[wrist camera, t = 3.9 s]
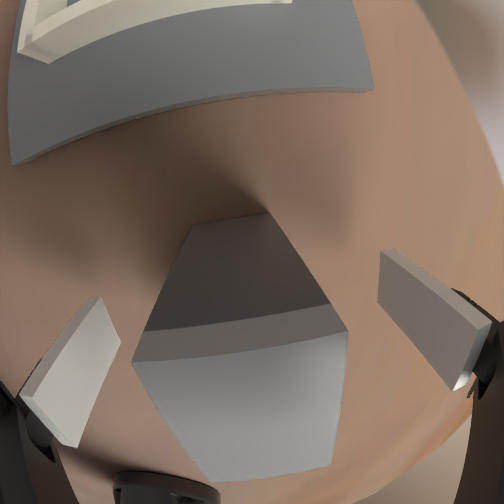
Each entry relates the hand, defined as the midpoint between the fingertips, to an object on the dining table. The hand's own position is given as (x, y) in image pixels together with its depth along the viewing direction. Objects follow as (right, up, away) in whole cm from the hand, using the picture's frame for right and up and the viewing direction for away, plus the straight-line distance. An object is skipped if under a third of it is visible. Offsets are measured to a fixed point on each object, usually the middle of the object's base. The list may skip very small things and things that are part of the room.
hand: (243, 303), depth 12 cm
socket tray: (-5, +18, -4) cm, 19 cm away
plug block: (0, +1, +3) cm, 3 cm away
